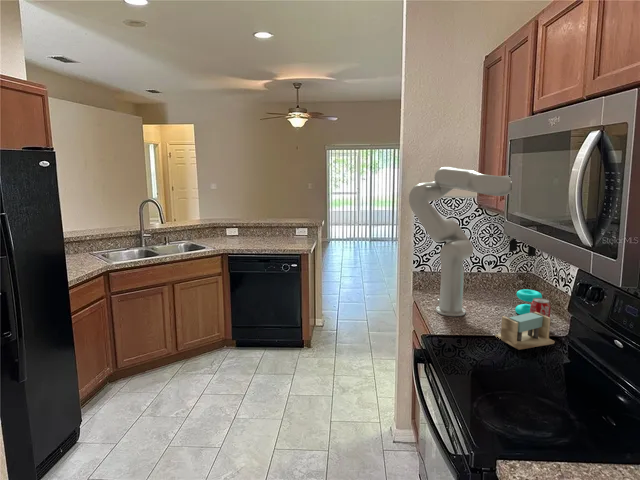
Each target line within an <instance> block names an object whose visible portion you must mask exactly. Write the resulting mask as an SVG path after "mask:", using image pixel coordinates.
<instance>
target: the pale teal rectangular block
mask: <svg viewBox="0 0 640 480" xmlns="http://www.w3.org/2000/svg"><path fill="white" fill-rule="evenodd" d="M508 318H509V319H511V320H513V321H516V322H518V332H519V333H520V332H524V331H528V330H532V329H535V328H539V327H542V321H543V316H540V315H537V314H534V313H526V314H522V315H519V314H518V315H514V316H510V317H508Z"/></svg>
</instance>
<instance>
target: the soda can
mask: <svg viewBox="0 0 640 480" xmlns="http://www.w3.org/2000/svg"><path fill="white" fill-rule="evenodd" d="M530 305H531V307H530V313H534V312H538V313H540V314H542V315H545V316H547V317H550V316H551V302H550V300H549V299H547V298H543V297H542V298H534V299H533V301H532V302H530ZM550 318H551V317H550Z"/></svg>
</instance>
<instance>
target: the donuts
mask: <svg viewBox="0 0 640 480" xmlns="http://www.w3.org/2000/svg"><path fill="white" fill-rule="evenodd" d="M516 297H517V298H518V299H519V300H521V301H524V302H528V303H529V304H528V303H522V304H518V305H516V306H515V309H514V311H515V312H516V314H518V315H522V314H526V313H530V307H531V302H532V301H533V299H534V298H543V294H542V293H541V292H539V291H537V290H534V289H527V288H526V289H525V288H524V289H519V290H517V292H516Z"/></svg>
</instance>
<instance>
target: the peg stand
mask: <svg viewBox="0 0 640 480" xmlns="http://www.w3.org/2000/svg"><path fill="white" fill-rule="evenodd" d="M534 314H537V315H540V316H543V321H542V327H539V328H535V329H532V330H528V331H524V332H520V333H519V332H518V322H516V321H513V320H511V319H509V317H507V316H505V315H504V316H503V315H502V316H501V326H500V327H501V328H500V329H501V330H500V333H497V334H495V338H497V337H498V338H499V339H498V338H497V339H498V340H500V339H501V340H500V341H502V342H503V343H506V344H508V345H509V346H511V347H513V348H514V349H517V350H525V349H531V348H535V347H543V346H549V345H554V344H555V342H556V341H555V340H553V339H551V338H550V328H551V319H552V318H551V317H547V316H545V315H542V314H540V313H538V312H534Z"/></svg>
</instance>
